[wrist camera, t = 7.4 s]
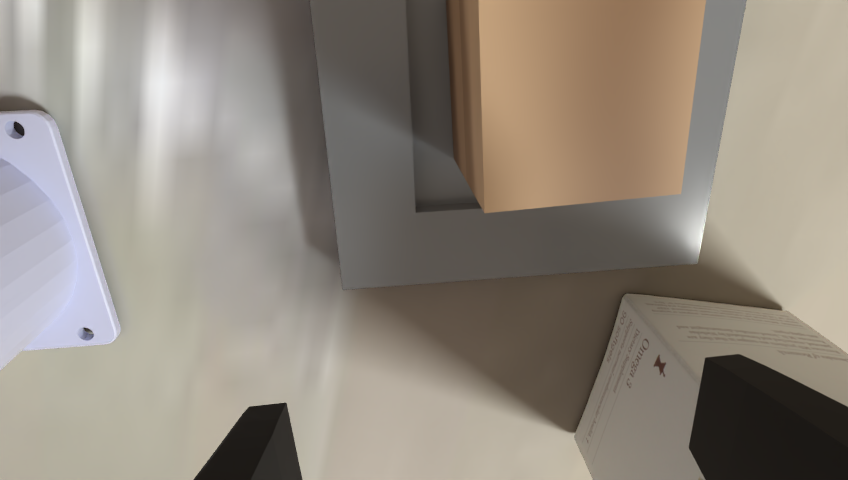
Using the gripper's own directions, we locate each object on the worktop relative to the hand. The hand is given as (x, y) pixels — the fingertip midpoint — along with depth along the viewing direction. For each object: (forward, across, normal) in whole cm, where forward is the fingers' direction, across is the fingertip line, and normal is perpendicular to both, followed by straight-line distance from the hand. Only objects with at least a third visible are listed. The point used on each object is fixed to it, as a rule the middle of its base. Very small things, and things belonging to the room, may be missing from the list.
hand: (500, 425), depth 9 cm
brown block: (+9, -3, -5) cm, 10 cm away
